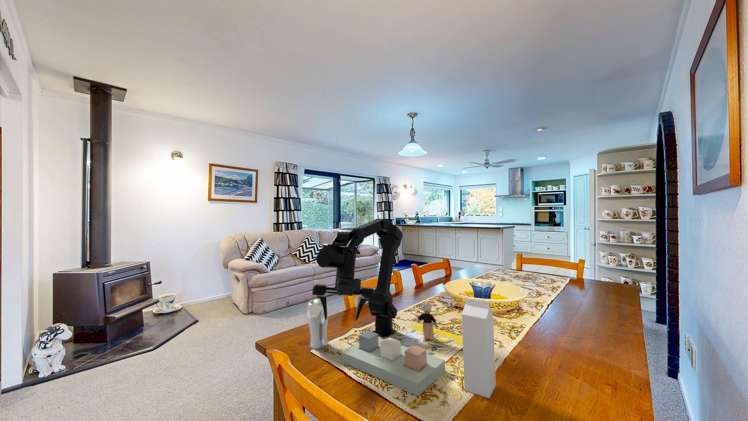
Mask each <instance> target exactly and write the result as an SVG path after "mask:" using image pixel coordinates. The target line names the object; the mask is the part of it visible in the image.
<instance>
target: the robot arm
mask: <svg viewBox="0 0 748 421" xmlns="http://www.w3.org/2000/svg"><path fill="white" fill-rule="evenodd" d="M374 234H376V235H377V237H379V245H380V246H381V257H380V261H379V262H380V263H379V269H378V275H377V280H376V281H377V282H376V287H375V289H374V288H373V287H371V286H362V279H361V278H355V274H356V272H355V271H356V261H357V260H356V259H357V255H361V251H360V250H359V249H358V246H360V245H361V244H362V243H363V242H365V241H364V240H365V239H366V238H368V237H370V236H373V235H374ZM402 240H403V232H402V231H401V229H400V228H399V227H398V226H397V225H395V224H393V223H392V222H390V221H389V220H388V219H386V218H375V219H374V220H372V221H368V222H366V223H363V224H360V225H358V226H356V227H344V228H340V229H338V230H337V233H336V235H335V236H334V238H333V239H332V241H331V243H330V244H329V243H323V244H322V248H321V249H320V250H319V251H318V252H317V254H316V263H317V265H318V267H320V268H325V269H326V268H327V269H328V268H329V269H336V270H335V272H336V273H335V280H334V282H335V283H334V287H331V286H327V284H324V283H315V284H314V285H313V287H312V295H314V296H316V299H317V298H320V300H321V303H322V306H323V310H324V315H325V320H327V306H328V300H327V294H335V295H337V296H348V297H352V296H354V295H355V296H358V299H357V305H356V310H355V315H354V316H355V318H354V320H355V322H357V321H358V318H359V316H360V314H361V312H362V309H363V308H364V305H365V304H366V303H367V305H368V309H369V312H370V316H372V317H374V318H375V321H374V330H372V332H374V333H377V334H378V336H381V337H383V338H388V337H390V336H391V335H393V334H394V333H396V332H397V329H394V328H393V327H394V324H393V321H394V320H395V319H396V317H397V316H398V309H397V307H395V305H394V304H393V299H394V298H393V296H392V295H393V294H392V293H391V290H390V288H391V283H392V282H391V281H392V276H393V269H394V268H393V267H394V261H395V256H396V251H397V250H398V249H399V248H400V246H401V244H402ZM393 319H394V320H393Z"/></svg>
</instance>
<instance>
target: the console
mask: <svg viewBox="0 0 748 421" xmlns="http://www.w3.org/2000/svg"><path fill="white" fill-rule="evenodd" d="M384 340H385V339H383V338H380V337H378V345H379V348H377V349H376V350H374V351H372V352H371V353H368V352H366V351H363V350H360V349H359V342H357V343H355V344H354V345H351V346H349V347H348V348H346V349H344V350H342V351H341V352H340V355H341V357H340V358H341V362H342V363H343V362H344V363H343V364H346V365H348V366H350V367H353V368H355V369H357V370H360V371H361V372H364V373H365V374H368V375H371V376H373V377H374V378H377V379H378V380H381V381H384V382H386V383H388V384H390V385H392V386H394V387H397V388H399V389H402V390H403V391H406V392H408V393H410V394H412V395H414V396H417V397H419V396H420V395H422V393H423V392H425V391H426V390H427V389H428V388H429V387H430V386H431V385H432V384H433V383H434V382H435V381H436V380H438V379H439V377H440V376H442V374H444V373H445V372H446V360H445V359H443V358H439V357H436V356H434V355H431V354H429V353H426V357H427V366H426V367H425V368H423V369H422V370H421V371H420V372H417V371H415V370H412V369H410V368H407V367H405V350H407V349H408V348H409V347H407V346H404V345H401V357H399V358H398V359H396V360H395V361H393V362H391V361H389V360H386V359H384V358H381V349H380V343H381V342H382V341H384Z"/></svg>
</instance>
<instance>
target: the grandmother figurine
mask: <svg viewBox="0 0 748 421" xmlns="http://www.w3.org/2000/svg"><path fill="white" fill-rule="evenodd" d="M432 308H433V307H432V304H431V303H430V302H429V303H428V302H426V303H424V304H423V305H422V307H421V311H423V313H421V314H420V315H418V317H417V320H416V323H418V324H420V323H421V321H422V332H423V338H422V341H423V342H429V343H436V342H437V339H436V338H435V334H434V328H436V329H437V328H438V327H439V325H438V323H437V322H438V321H437V320H436V318H435V317H434V315H433V314H431V311H432Z"/></svg>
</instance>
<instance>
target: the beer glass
mask: <svg viewBox="0 0 748 421" xmlns="http://www.w3.org/2000/svg"><path fill="white" fill-rule="evenodd" d="M306 311H307V312H306V313H307V314H306V315H307V323H308V327H309V333H310V342H309V347H310V348H311V349H312V350H313V349H314V350H320V349H321V350H322V349H324V348H326V347H328V344H329V343H328V342H329V341H328V337H327V328H328V323H329V322H328V321H329V308H328V305H327V320H325V315H324V310H323V306H322V303H321V300H320V298H317V297H316V298H313V299H309V300H308V301H307V310H306Z"/></svg>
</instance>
